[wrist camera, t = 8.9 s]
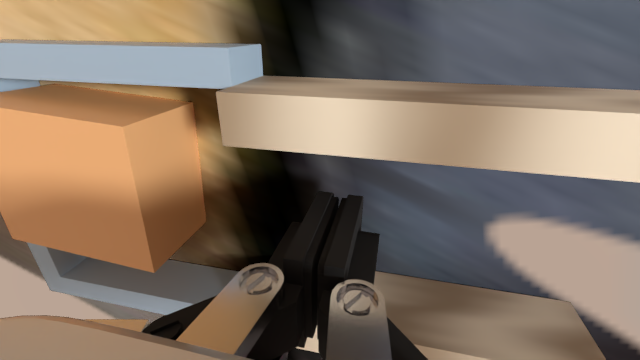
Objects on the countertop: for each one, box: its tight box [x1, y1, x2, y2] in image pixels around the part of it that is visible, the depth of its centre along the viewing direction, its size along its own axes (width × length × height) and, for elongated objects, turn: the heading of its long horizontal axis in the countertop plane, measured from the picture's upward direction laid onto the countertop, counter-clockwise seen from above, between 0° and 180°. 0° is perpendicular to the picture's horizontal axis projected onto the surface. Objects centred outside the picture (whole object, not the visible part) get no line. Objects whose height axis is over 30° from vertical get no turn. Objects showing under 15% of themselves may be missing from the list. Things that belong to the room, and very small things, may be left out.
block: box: [0, 84, 206, 273], centre depth 13 cm, size 7×6×4 cm
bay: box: [0, 40, 263, 315], centre depth 14 cm, size 12×12×2 cm
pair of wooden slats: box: [216, 76, 640, 360], centre depth 11 cm, size 13×10×4 cm
